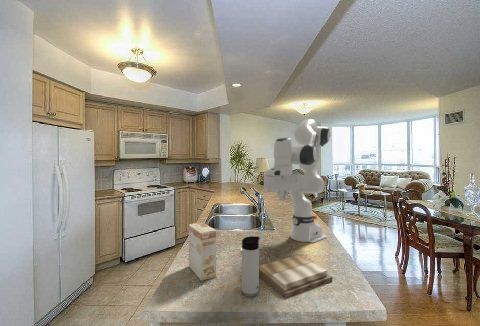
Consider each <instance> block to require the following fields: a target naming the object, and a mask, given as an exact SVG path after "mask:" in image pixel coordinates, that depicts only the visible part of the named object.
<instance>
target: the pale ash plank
mask: <svg viewBox="0 0 480 326" xmlns="http://www.w3.org/2000/svg"><path fill="white" fill-rule="evenodd" d="M311 262H312V263H309V264H305V265H302V266H299V267H295V268H292V269H289V270H285V271H282V272H279V273H275V274H272V280H273V281H274V282H275V283H276V284H278V285H279V286H280V287H281V288H283V289H284V290H287V289H290V288H293V287H296V286H299V285H301V284H304V283H307V282H310V281H313V280H316V279H318V278H321V277H324V276H327V274H328V270H327V269H326V268H324V267H322V266H320V265H318V264H316V263H314V262H313V261H311Z"/></svg>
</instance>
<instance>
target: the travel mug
mask: <svg viewBox="0 0 480 326" xmlns="http://www.w3.org/2000/svg"><path fill="white" fill-rule="evenodd" d="M260 239H261V238H260V237H259V236H253V235H252V236H246V237H243V238H242V240H241V248H242V251H241V293H242V294H243V295H244V296H246V297H252V298H253V297H256V296H257V295H258V294H259V291H260V288H259V287H260V286H259V285H260V276H259V268H260V246H259V244H260V242H259V241H260Z"/></svg>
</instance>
